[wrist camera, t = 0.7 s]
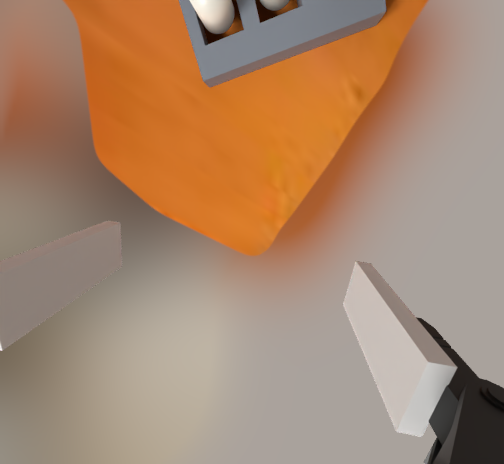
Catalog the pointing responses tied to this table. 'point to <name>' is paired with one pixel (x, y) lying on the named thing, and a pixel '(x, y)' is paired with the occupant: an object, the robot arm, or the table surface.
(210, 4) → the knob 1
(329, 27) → the grey egg holder
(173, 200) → the table surface
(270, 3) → the white oval solid
